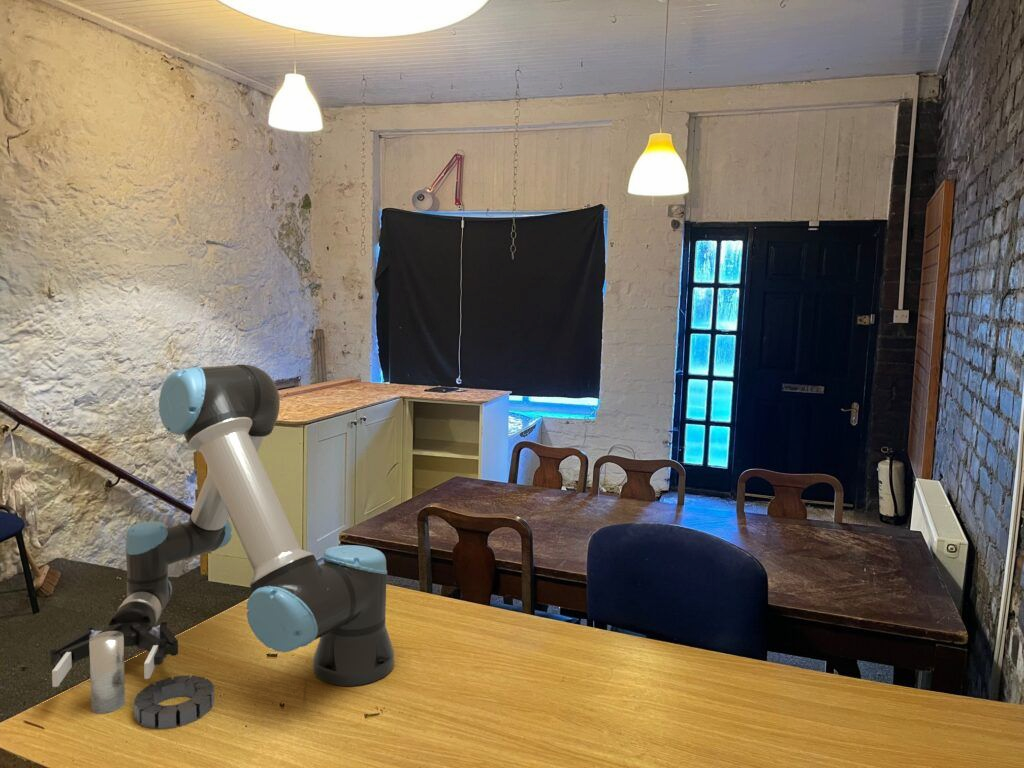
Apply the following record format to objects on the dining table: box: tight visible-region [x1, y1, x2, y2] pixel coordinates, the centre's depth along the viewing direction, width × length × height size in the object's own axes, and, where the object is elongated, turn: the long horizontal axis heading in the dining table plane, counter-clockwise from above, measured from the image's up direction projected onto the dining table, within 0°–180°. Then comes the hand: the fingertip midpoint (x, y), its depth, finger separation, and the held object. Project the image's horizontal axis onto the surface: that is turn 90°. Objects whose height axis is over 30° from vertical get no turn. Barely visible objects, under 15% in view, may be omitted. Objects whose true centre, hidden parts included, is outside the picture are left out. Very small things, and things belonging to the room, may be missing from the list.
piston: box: [89, 631, 126, 714], centre depth 120 cm, size 5×5×12 cm
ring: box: [133, 674, 215, 730], centre depth 120 cm, size 12×12×2 cm
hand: (101, 675), depth 117 cm, fingers open, 13 cm apart
